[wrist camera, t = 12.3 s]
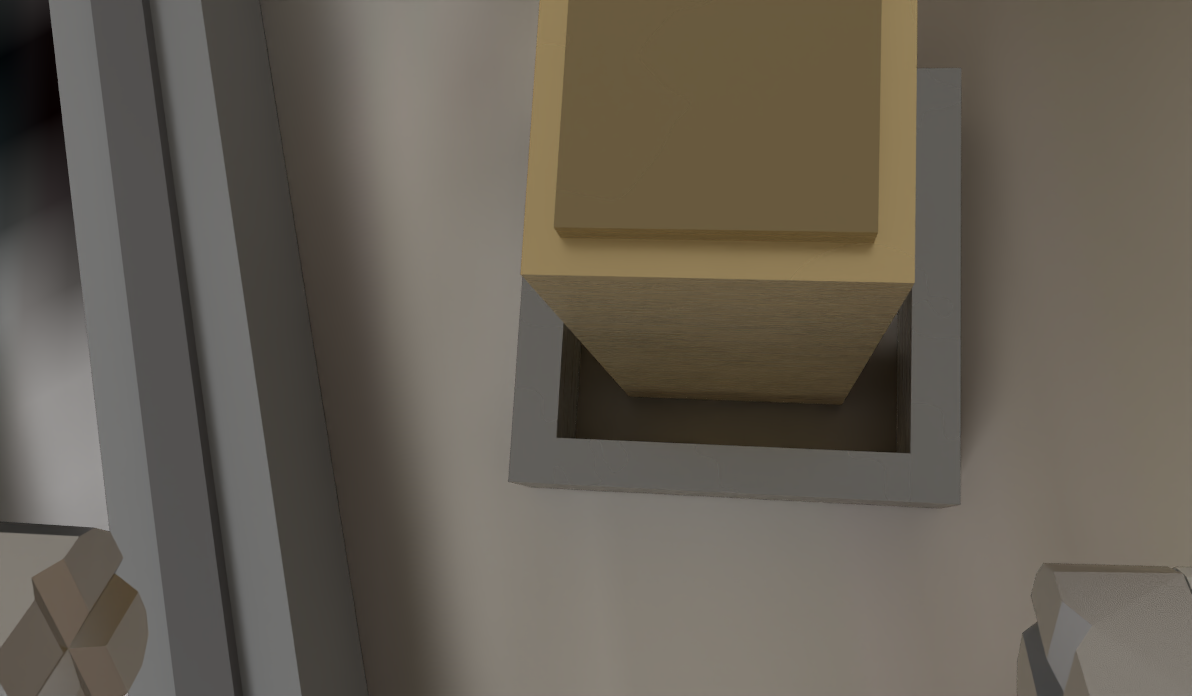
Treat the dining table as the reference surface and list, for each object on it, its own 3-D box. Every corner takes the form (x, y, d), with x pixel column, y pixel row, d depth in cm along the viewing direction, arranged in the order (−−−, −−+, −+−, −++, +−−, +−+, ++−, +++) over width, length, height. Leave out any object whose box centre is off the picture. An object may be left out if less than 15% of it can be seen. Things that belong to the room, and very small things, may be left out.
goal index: (940, 508, 20) (960, 504, 18) (531, 487, 21) (508, 482, 19) (943, 111, 21) (961, 68, 19) (556, 111, 23) (536, 70, 21)
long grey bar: (434, 1118, 20) (370, 1231, 16) (274, 1144, 20) (182, 1259, 17) (234, -159, 25) (156, -263, 22) (110, -123, 25) (14, -221, 22)
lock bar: (841, 404, 21) (920, 273, 11) (629, 396, 21) (511, 264, 11) (845, 198, 21) (923, -111, 11) (639, 196, 22) (538, -99, 12)
